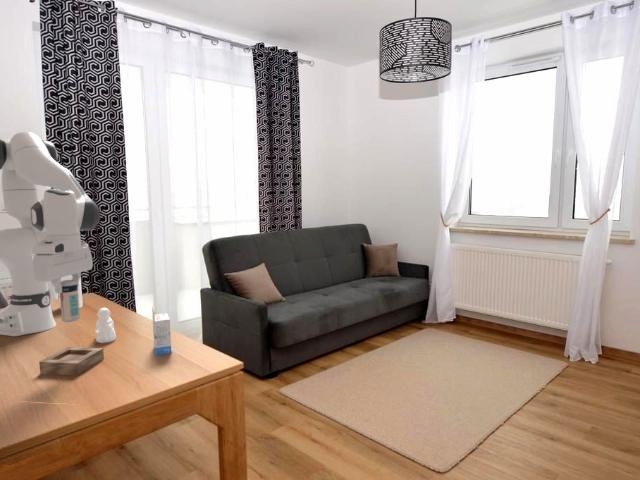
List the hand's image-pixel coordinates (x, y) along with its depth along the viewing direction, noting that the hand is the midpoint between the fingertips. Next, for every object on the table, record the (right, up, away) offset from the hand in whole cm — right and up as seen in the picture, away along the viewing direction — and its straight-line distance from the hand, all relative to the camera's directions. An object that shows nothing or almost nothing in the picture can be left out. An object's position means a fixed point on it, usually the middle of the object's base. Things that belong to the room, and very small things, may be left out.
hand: (67, 290), depth 127 cm
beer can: (+1, -9, +1) cm, 9 cm away
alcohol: (-36, -17, +64) cm, 76 cm away
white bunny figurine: (-1, -21, +25) cm, 33 cm away
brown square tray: (0, -24, +3) cm, 24 cm away
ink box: (+23, -22, +15) cm, 35 cm away
